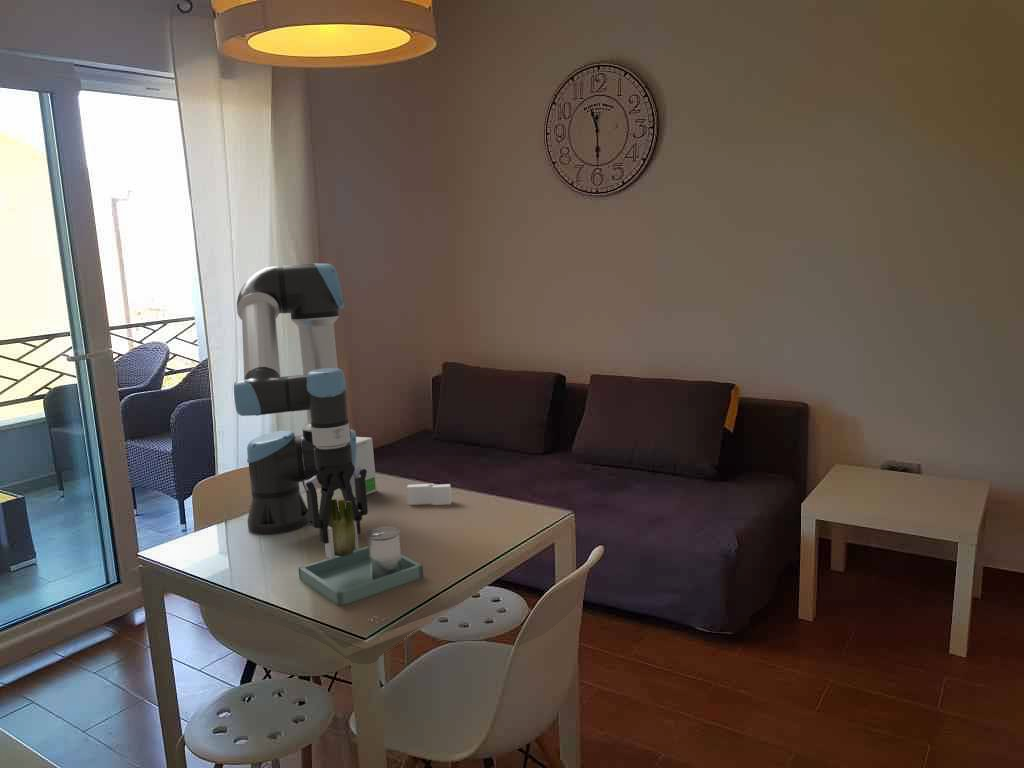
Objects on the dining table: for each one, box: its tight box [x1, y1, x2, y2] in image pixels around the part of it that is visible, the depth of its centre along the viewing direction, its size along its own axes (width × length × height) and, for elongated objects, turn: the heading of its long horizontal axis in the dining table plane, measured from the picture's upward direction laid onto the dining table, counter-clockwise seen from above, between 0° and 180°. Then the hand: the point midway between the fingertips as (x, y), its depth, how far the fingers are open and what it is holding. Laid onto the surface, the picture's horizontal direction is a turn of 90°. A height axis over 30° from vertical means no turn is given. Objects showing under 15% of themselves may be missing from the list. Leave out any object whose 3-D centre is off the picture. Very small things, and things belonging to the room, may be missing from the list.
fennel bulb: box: [328, 498, 355, 556], centre depth 170 cm, size 6×5×12 cm
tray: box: [298, 545, 424, 607], centre depth 169 cm, size 18×19×4 cm
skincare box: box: [341, 436, 378, 499], centre depth 229 cm, size 8×7×16 cm
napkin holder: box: [406, 483, 453, 506], centre depth 218 cm, size 15×11×6 cm
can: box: [366, 526, 402, 581], centre depth 167 cm, size 7×7×10 cm
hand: (342, 553), depth 171 cm, fingers closed on fennel bulb, 5 cm apart
